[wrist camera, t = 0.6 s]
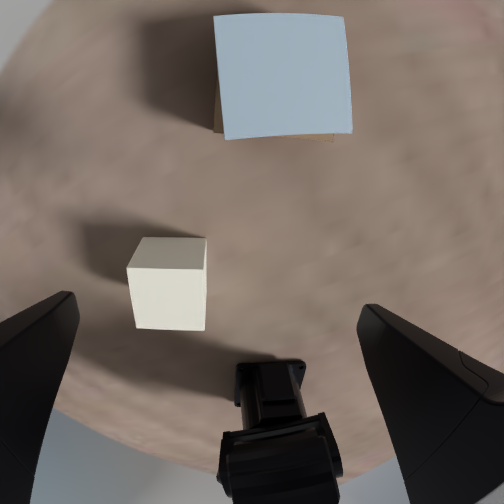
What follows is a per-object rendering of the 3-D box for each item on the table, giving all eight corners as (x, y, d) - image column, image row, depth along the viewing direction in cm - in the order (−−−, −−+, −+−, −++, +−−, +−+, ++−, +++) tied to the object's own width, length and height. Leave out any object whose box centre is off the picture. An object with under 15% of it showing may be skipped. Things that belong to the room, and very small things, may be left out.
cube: (206, 292, 23) (204, 330, 19) (148, 290, 23) (136, 328, 19) (206, 237, 21) (203, 269, 17) (143, 236, 21) (126, 267, 17)
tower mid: (335, 129, 17) (352, 133, 14) (224, 136, 16) (225, 140, 14) (327, 27, 14) (343, 17, 12) (214, 28, 13) (213, 16, 11)
